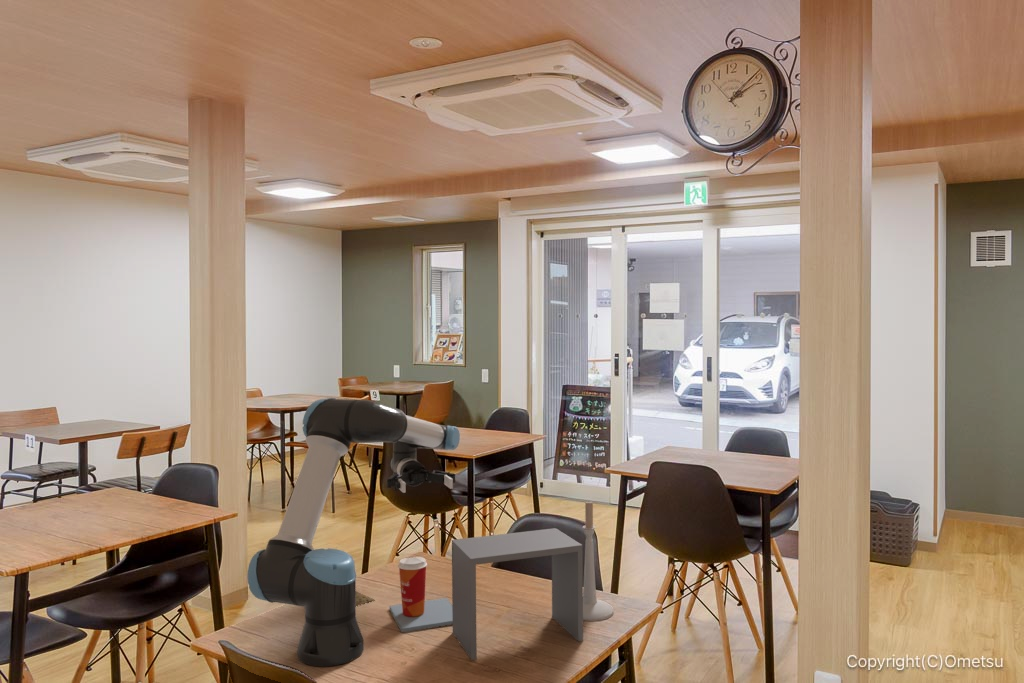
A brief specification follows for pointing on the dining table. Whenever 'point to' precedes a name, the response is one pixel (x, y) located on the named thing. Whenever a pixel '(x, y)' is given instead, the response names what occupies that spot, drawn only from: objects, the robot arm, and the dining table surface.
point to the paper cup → (412, 585)
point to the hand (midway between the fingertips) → (428, 486)
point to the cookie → (362, 599)
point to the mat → (425, 616)
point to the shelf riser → (512, 548)
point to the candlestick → (592, 576)
